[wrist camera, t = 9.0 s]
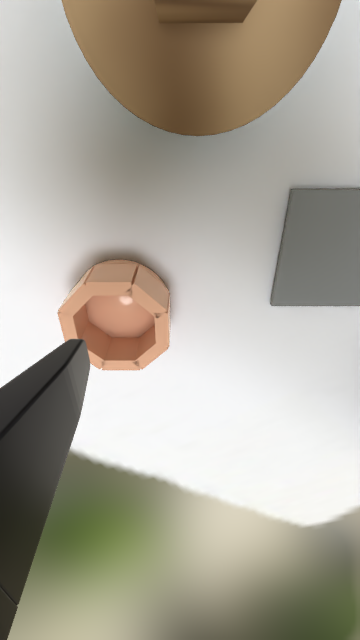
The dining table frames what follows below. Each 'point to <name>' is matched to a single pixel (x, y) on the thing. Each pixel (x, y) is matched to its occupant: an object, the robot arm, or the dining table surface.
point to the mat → (320, 250)
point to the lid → (200, 55)
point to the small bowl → (118, 315)
